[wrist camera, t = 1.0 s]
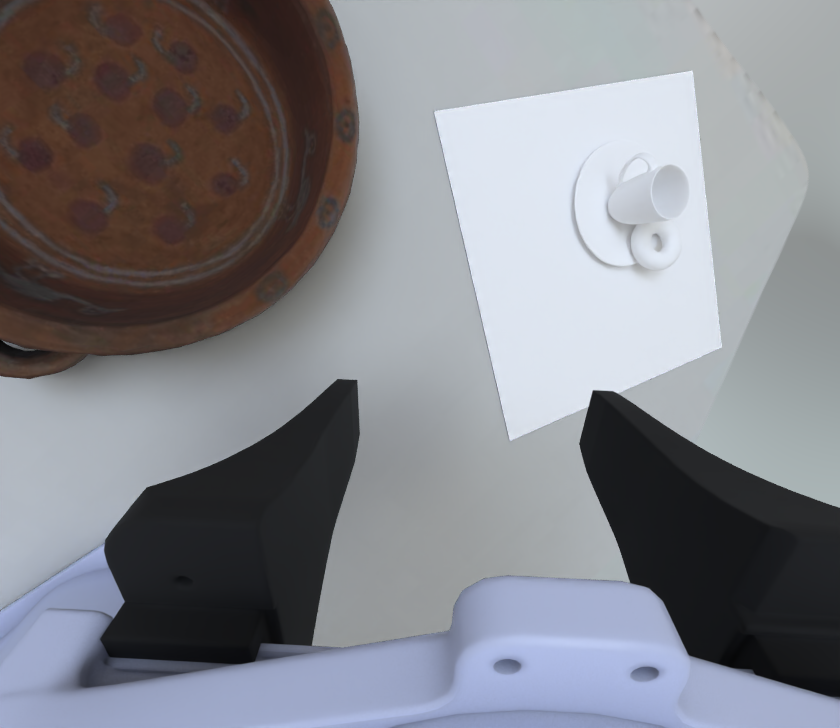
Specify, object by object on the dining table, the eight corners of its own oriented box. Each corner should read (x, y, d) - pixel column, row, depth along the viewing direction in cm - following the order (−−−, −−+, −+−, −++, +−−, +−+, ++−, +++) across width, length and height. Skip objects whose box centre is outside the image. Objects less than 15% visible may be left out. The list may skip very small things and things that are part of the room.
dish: (-266, 261, 16) (-478, 243, 11) (29, -256, 17) (-53, -467, 12) (222, 435, 22) (216, 470, 18) (412, 57, 23) (452, -4, 19)
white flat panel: (670, 262, 32) (727, 257, 28) (583, 292, 29) (633, 290, 26) (653, 133, 30) (712, 108, 26) (559, 153, 27) (609, 129, 24)
